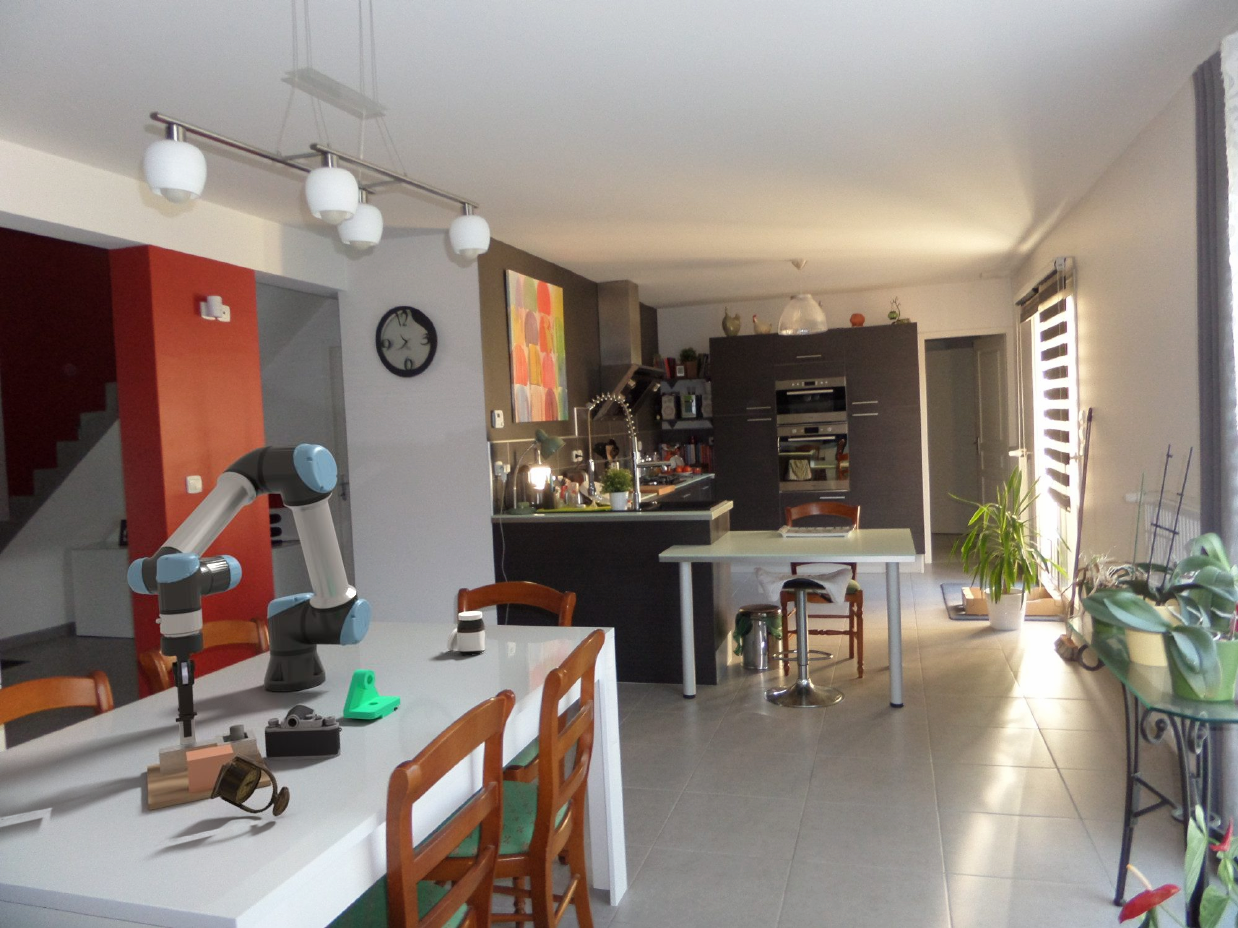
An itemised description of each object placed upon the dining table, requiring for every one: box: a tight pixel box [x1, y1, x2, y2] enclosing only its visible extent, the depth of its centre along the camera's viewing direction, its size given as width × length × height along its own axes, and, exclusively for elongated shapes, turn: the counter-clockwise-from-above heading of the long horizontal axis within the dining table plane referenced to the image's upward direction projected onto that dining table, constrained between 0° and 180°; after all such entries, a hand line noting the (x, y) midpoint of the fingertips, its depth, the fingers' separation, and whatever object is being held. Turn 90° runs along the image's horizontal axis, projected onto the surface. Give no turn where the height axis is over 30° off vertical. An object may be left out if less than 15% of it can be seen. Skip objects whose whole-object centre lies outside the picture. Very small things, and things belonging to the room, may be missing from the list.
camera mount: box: [342, 669, 401, 720], centre depth 208 cm, size 12×8×10 cm, turn 162°
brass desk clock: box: [209, 755, 291, 817], centre depth 155 cm, size 7×13×10 cm, turn 95°
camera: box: [264, 703, 343, 761], centre depth 184 cm, size 16×8×10 cm, turn 87°
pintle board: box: [146, 724, 272, 811], centre depth 172 cm, size 22×20×7 cm
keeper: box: [186, 744, 234, 793], centre depth 166 cm, size 6×8×6 cm
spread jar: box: [446, 610, 487, 656], centre depth 264 cm, size 12×11×12 cm
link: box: [158, 728, 258, 774], centre depth 178 cm, size 17×7×4 cm, turn 118°
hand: (188, 751), depth 180 cm, fingers closed
